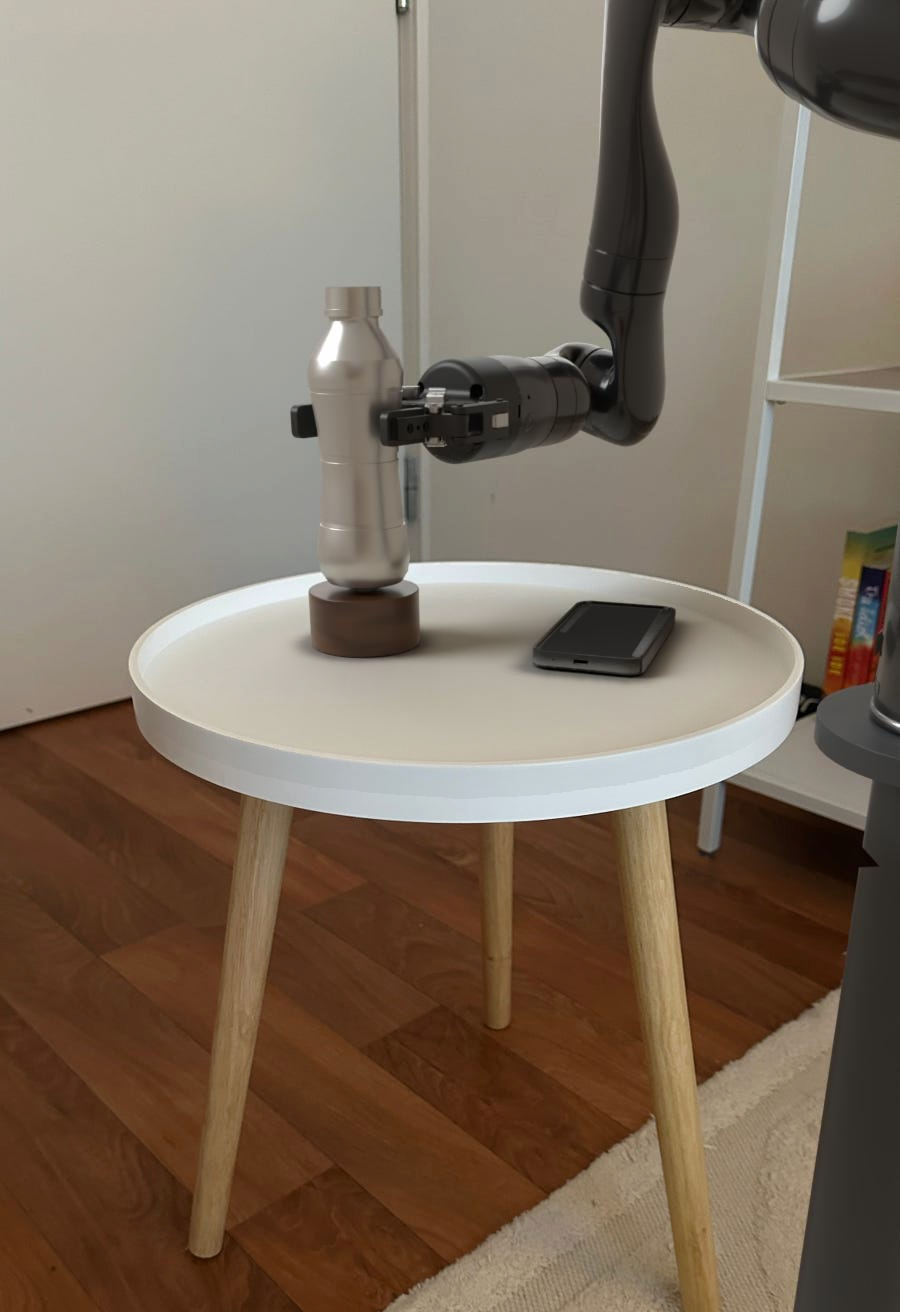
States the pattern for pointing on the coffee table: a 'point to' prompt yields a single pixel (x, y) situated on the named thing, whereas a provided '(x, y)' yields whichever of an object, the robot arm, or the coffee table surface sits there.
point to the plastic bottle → (357, 444)
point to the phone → (605, 637)
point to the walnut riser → (364, 619)
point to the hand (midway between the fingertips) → (337, 425)
